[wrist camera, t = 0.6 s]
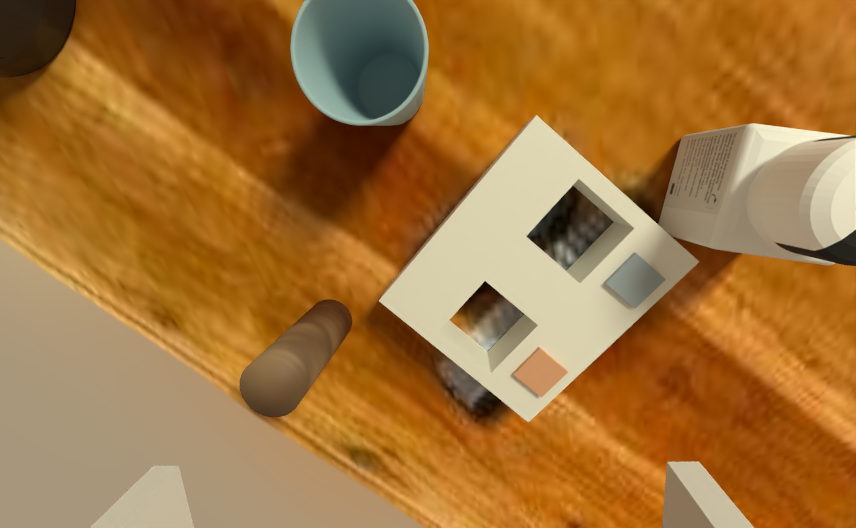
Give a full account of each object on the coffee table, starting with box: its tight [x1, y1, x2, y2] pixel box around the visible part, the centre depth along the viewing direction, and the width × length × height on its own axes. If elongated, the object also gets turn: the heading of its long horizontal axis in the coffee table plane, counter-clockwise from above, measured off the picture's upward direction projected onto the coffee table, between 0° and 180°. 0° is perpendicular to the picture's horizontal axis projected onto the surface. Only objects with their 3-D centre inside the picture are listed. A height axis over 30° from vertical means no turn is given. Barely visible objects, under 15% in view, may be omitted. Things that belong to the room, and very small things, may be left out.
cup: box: [291, 0, 428, 126], centre depth 27 cm, size 8×8×10 cm
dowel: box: [240, 300, 352, 417], centre depth 31 cm, size 4×4×12 cm
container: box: [658, 123, 856, 266], centre depth 25 cm, size 8×8×13 cm
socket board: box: [379, 115, 699, 422], centre depth 32 cm, size 16×18×4 cm
